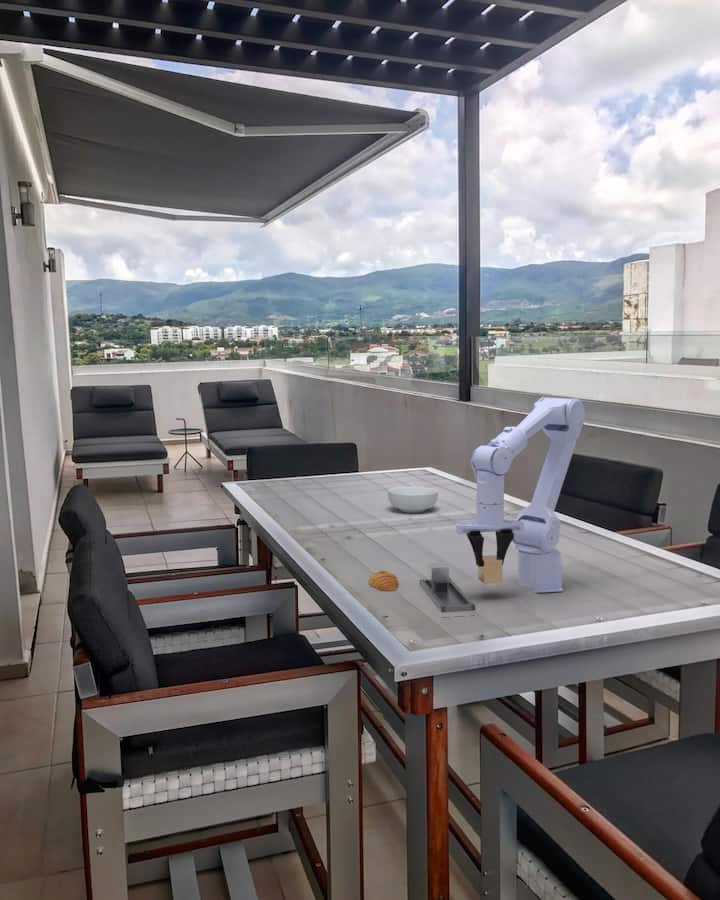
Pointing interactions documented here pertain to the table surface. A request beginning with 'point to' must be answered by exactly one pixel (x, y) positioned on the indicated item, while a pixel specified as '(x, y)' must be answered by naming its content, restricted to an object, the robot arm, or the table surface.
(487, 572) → the wooden block with cap
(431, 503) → the cereal bowl
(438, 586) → the steel block
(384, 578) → the pastry
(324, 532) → the table surface
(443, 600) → the tray
